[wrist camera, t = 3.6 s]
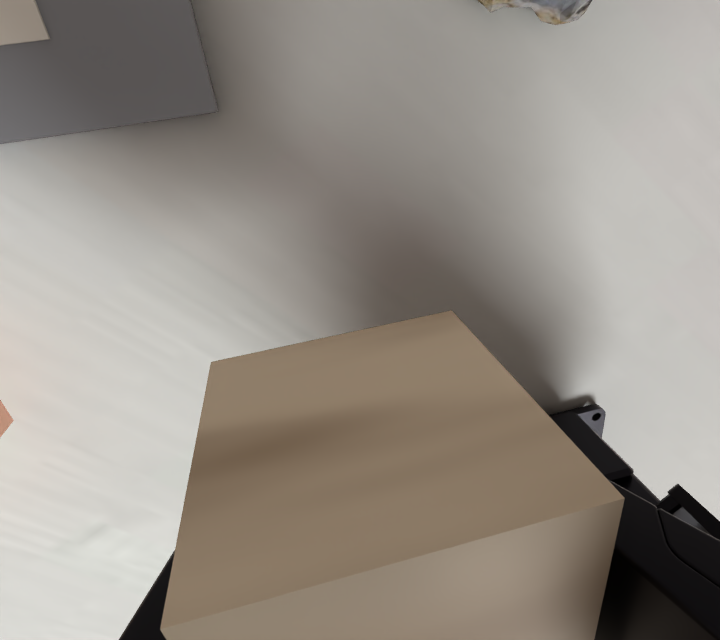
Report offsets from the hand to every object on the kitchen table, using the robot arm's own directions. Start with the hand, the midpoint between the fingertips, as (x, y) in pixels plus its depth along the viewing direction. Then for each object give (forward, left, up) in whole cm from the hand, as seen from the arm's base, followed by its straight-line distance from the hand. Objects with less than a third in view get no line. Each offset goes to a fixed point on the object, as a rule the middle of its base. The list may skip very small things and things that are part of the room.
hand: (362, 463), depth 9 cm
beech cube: (0, 0, -1) cm, 1 cm away
